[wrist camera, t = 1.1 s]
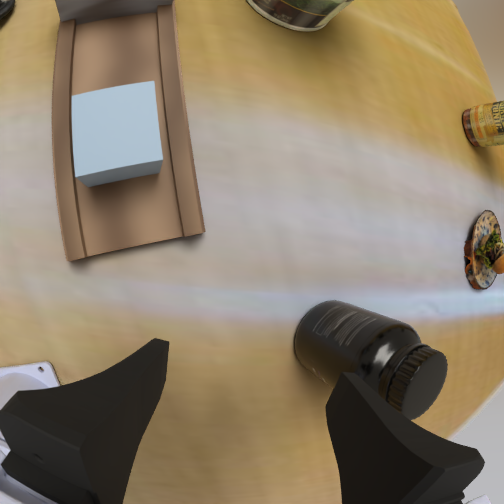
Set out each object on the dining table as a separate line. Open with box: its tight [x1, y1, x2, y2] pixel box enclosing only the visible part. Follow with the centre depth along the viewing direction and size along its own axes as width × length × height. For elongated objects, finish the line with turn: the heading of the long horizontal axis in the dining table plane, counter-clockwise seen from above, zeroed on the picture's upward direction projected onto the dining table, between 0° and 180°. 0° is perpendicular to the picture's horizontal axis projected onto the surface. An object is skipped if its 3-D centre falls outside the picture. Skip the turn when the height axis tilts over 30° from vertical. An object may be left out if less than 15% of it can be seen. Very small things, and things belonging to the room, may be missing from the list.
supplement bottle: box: [295, 300, 448, 420], centre depth 21 cm, size 7×7×12 cm
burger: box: [464, 210, 504, 289], centre depth 32 cm, size 12×12×8 cm
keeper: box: [72, 81, 163, 187], centre depth 16 cm, size 5×5×4 cm
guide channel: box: [52, 0, 205, 261], centre depth 16 cm, size 10×24×5 cm, turn 11°
